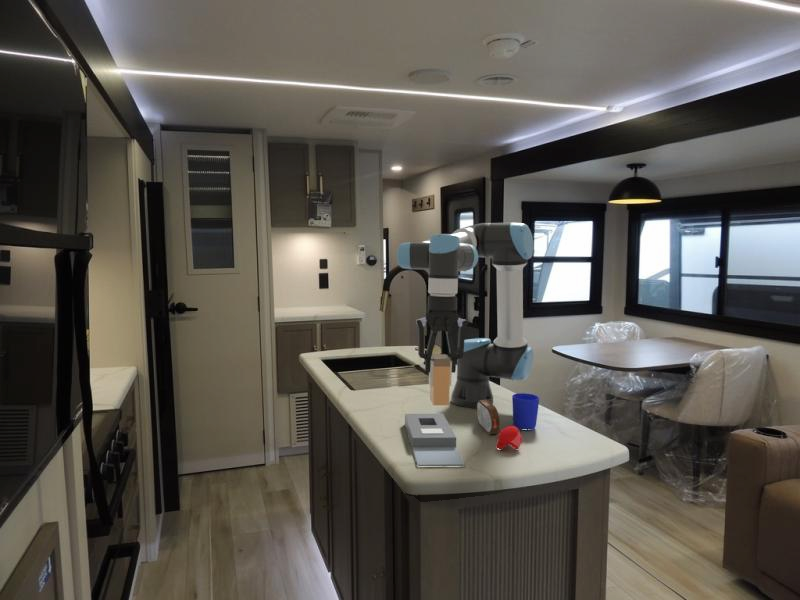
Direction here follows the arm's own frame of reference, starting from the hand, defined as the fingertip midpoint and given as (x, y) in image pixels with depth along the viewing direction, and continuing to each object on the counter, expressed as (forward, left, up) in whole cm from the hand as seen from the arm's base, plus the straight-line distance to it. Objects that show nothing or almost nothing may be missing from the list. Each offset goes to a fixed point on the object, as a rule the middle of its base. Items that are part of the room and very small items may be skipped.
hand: (439, 384), depth 140 cm
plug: (0, 0, -5) cm, 5 cm away
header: (0, -17, -20) cm, 26 cm away
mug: (-32, -26, -20) cm, 46 cm away
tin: (-19, -23, -20) cm, 36 cm away
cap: (-21, -7, -20) cm, 30 cm away
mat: (0, 0, -20) cm, 20 cm away
